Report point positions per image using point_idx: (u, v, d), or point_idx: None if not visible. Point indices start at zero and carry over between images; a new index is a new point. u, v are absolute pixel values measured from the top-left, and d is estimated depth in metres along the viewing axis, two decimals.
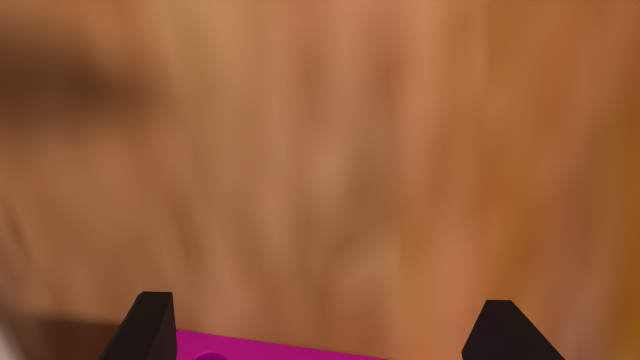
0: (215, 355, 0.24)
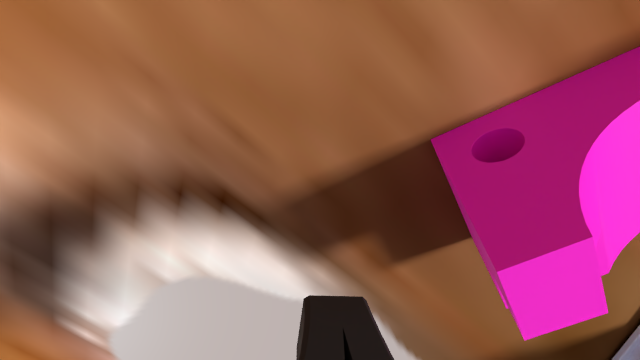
0: (493, 135, 0.18)
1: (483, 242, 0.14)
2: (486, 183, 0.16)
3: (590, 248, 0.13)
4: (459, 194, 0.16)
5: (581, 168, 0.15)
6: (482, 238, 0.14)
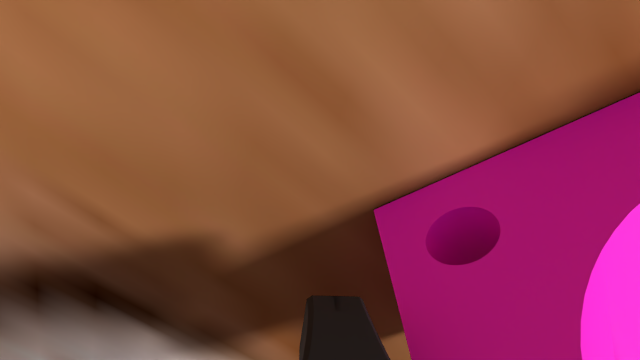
0: (457, 214, 0.13)
1: None
2: (441, 302, 0.11)
3: None
4: (402, 317, 0.11)
5: (584, 296, 0.09)
6: None
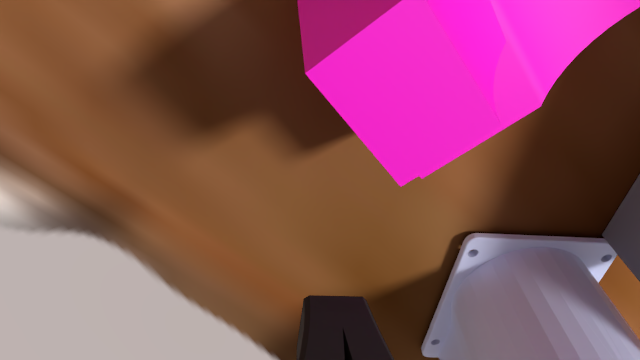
0: None
1: (304, 51, 0.10)
2: None
3: (424, 10, 0.09)
4: (300, 18, 0.12)
5: None
6: (304, 47, 0.11)
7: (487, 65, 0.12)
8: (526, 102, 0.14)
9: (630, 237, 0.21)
